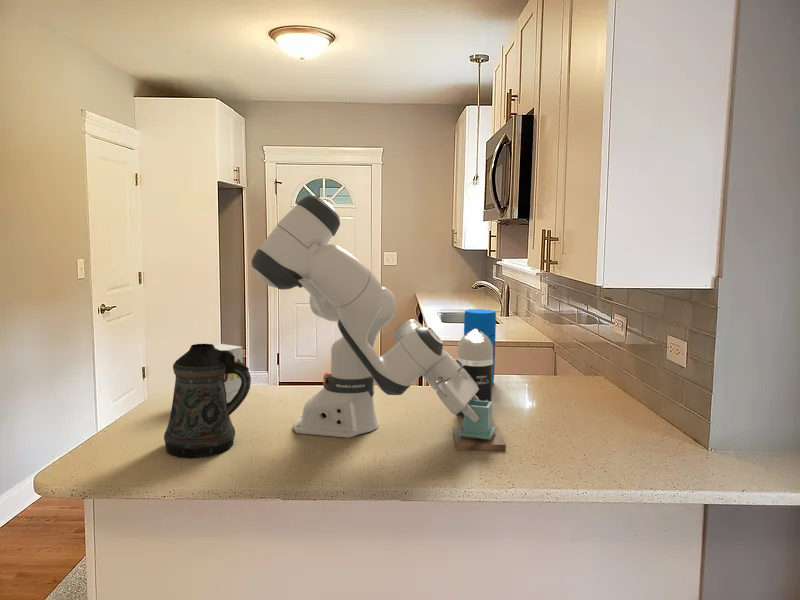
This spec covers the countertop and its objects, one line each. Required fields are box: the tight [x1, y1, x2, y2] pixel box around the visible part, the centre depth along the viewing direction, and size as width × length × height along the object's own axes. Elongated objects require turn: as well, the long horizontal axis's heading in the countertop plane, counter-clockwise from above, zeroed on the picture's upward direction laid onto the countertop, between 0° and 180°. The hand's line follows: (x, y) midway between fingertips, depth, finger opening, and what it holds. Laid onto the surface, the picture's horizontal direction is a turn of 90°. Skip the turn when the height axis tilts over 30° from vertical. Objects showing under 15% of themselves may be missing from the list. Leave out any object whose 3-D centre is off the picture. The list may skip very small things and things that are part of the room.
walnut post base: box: [452, 427, 507, 452], centre depth 153 cm, size 12×12×6 cm
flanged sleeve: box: [458, 400, 497, 440], centre depth 153 cm, size 8×8×8 cm
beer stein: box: [163, 343, 252, 459], centre depth 148 cm, size 16×19×25 cm
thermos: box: [463, 308, 497, 385], centre depth 211 cm, size 11×11×25 cm
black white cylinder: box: [456, 328, 493, 417], centre depth 175 cm, size 10×10×25 cm
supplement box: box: [214, 343, 244, 403], centre depth 185 cm, size 10×9×17 cm
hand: (480, 416), depth 152 cm, fingers closed on flanged sleeve, 6 cm apart
